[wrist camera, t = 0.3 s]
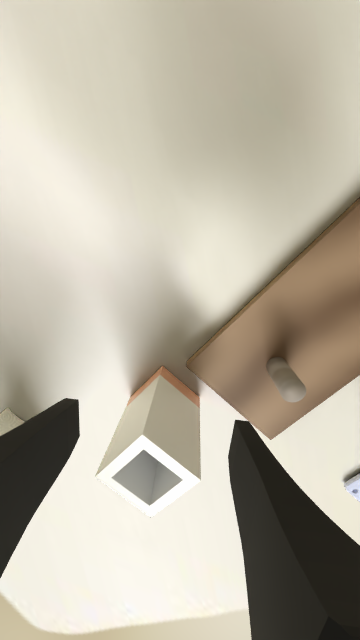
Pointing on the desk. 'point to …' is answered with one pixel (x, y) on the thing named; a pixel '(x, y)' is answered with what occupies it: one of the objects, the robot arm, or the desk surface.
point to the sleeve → (155, 445)
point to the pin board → (292, 335)
